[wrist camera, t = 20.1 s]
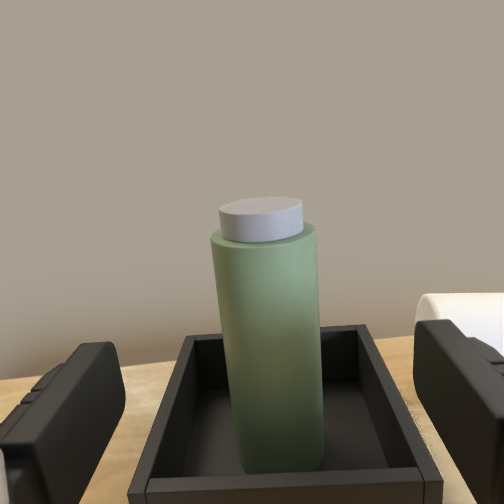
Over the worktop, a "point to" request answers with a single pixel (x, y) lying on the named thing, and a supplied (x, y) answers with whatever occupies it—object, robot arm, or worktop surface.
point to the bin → (294, 483)
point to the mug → (468, 314)
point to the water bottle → (271, 333)
